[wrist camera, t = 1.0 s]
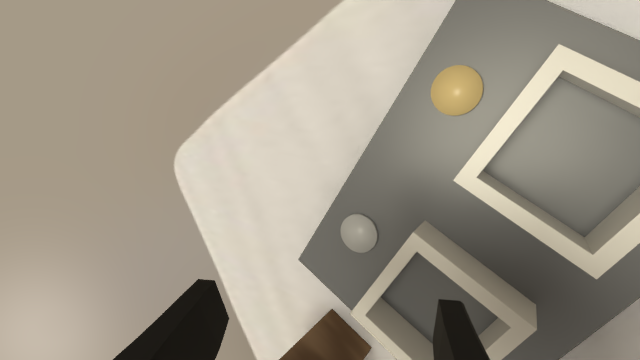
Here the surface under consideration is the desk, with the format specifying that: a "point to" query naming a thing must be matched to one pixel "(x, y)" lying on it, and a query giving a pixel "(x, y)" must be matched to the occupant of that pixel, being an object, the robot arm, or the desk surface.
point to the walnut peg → (329, 342)
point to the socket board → (496, 187)
